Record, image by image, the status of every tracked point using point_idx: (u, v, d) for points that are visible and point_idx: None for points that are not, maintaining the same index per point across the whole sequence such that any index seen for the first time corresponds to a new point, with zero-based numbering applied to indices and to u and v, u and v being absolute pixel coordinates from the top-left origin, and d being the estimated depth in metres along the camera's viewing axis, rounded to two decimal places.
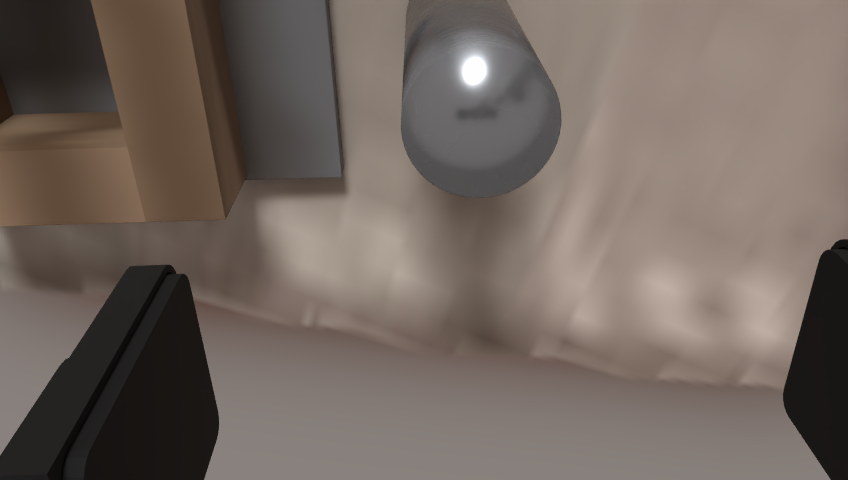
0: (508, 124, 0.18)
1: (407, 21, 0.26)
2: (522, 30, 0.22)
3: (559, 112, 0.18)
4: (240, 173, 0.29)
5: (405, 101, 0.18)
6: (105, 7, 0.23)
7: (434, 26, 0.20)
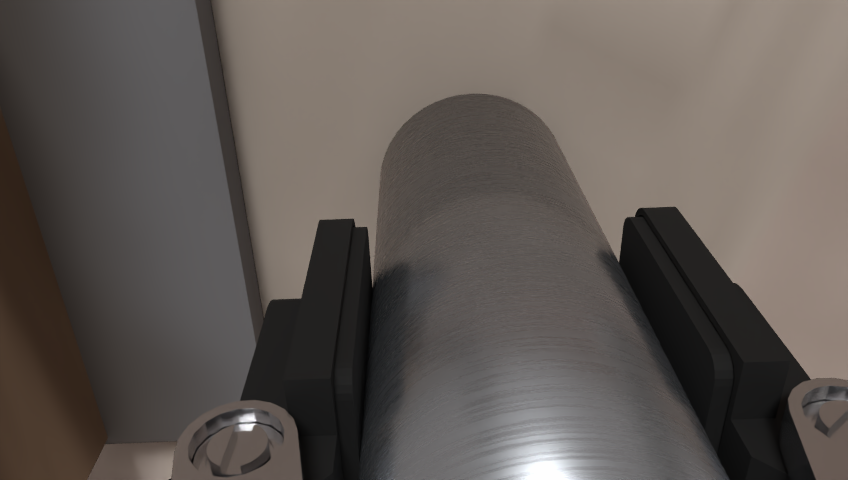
0: None
1: (379, 225, 0.13)
2: (652, 332, 0.09)
3: None
4: (87, 450, 0.17)
5: None
6: None
7: (439, 384, 0.07)
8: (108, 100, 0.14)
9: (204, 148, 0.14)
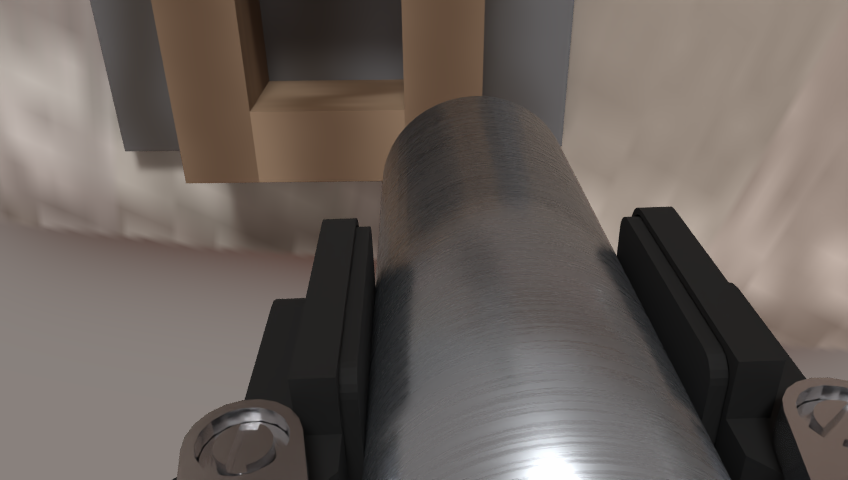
0: None
1: (381, 227, 0.13)
2: (655, 335, 0.09)
3: None
4: None
5: None
6: None
7: (443, 387, 0.07)
8: None
9: None
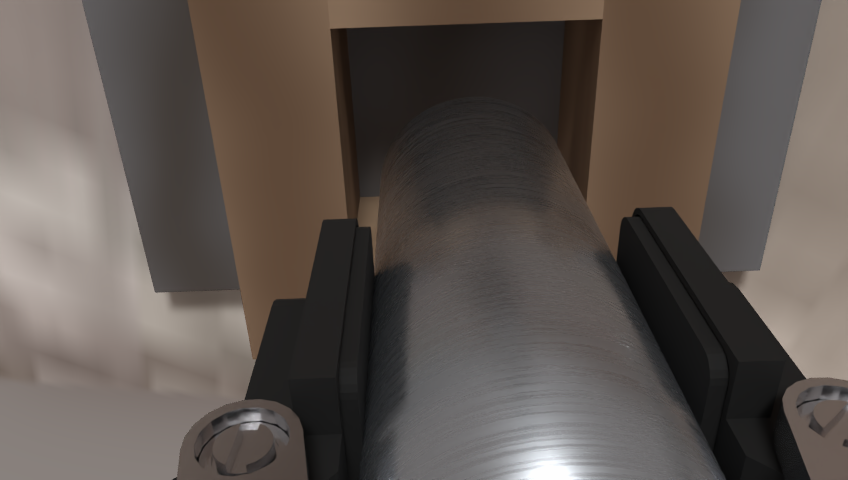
0: None
1: (379, 228, 0.13)
2: (652, 337, 0.09)
3: None
4: None
5: None
6: (616, 71, 0.16)
7: (439, 389, 0.07)
8: (750, 2, 0.20)
9: (801, 37, 0.20)
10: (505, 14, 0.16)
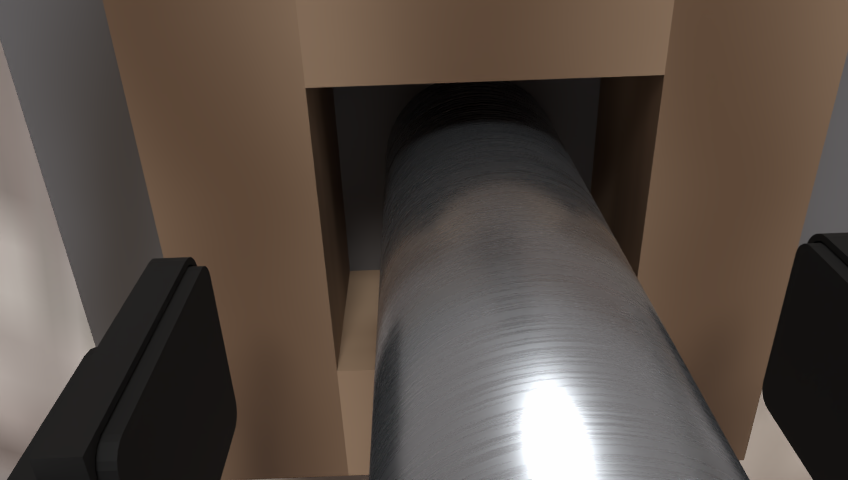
0: None
1: (386, 189, 0.14)
2: (629, 266, 0.10)
3: None
4: None
5: None
6: (679, 140, 0.13)
7: (445, 296, 0.09)
8: None
9: None
10: (536, 69, 0.12)
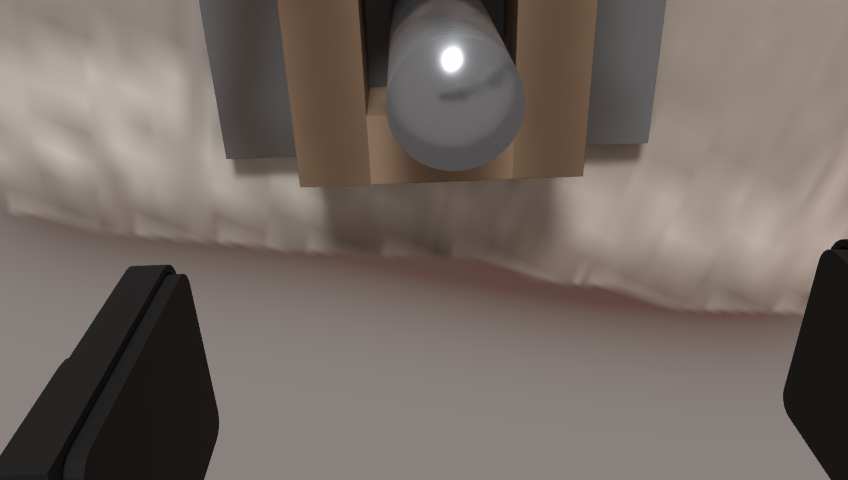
0: (480, 105, 0.21)
1: (391, 19, 0.28)
2: (493, 25, 0.24)
3: (523, 94, 0.20)
4: None
5: (389, 85, 0.20)
6: None
7: (415, 21, 0.23)
8: None
9: None
10: None
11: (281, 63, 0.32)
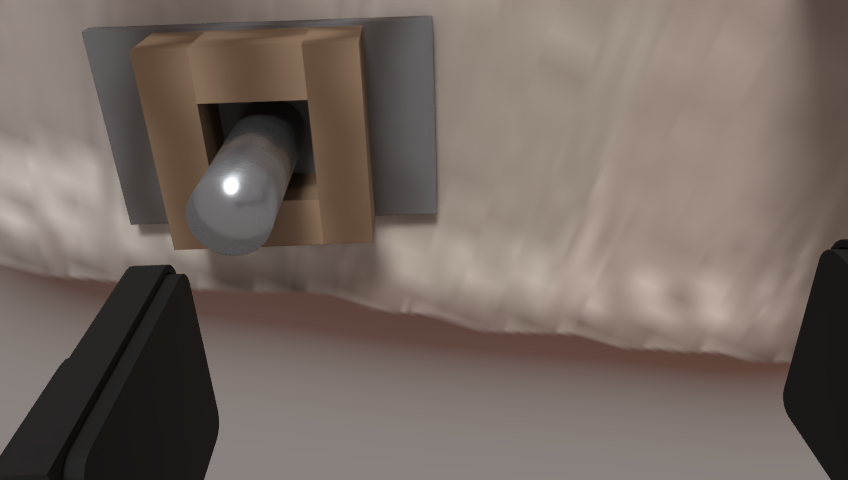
0: (244, 217, 0.33)
1: None
2: (277, 154, 0.37)
3: (270, 211, 0.33)
4: (374, 212, 0.46)
5: (186, 206, 0.33)
6: (317, 120, 0.40)
7: (218, 157, 0.36)
8: (401, 84, 0.43)
9: (428, 100, 0.43)
10: (267, 98, 0.39)
11: None
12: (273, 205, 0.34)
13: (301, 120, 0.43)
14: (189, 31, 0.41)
